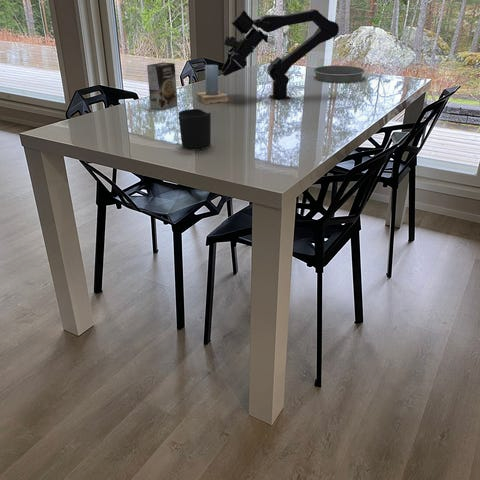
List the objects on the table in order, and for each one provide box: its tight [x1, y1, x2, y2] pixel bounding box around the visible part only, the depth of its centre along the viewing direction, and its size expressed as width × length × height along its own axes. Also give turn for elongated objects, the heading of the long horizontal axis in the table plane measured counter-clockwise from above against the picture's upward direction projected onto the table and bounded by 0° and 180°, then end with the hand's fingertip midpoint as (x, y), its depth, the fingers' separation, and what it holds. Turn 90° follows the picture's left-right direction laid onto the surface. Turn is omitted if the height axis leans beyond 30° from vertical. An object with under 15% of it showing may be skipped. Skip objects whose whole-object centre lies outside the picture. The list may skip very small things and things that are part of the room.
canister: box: [204, 64, 220, 95], centre depth 195 cm, size 5×5×11 cm
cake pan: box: [313, 64, 366, 84], centre depth 235 cm, size 25×25×4 cm
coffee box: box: [146, 61, 178, 111], centre depth 186 cm, size 9×6×16 cm
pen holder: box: [178, 108, 212, 150], centre depth 145 cm, size 9×9×10 cm
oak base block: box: [196, 90, 229, 105], centre depth 198 cm, size 10×10×2 cm
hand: (222, 73), depth 194 cm, fingers open, 9 cm apart
